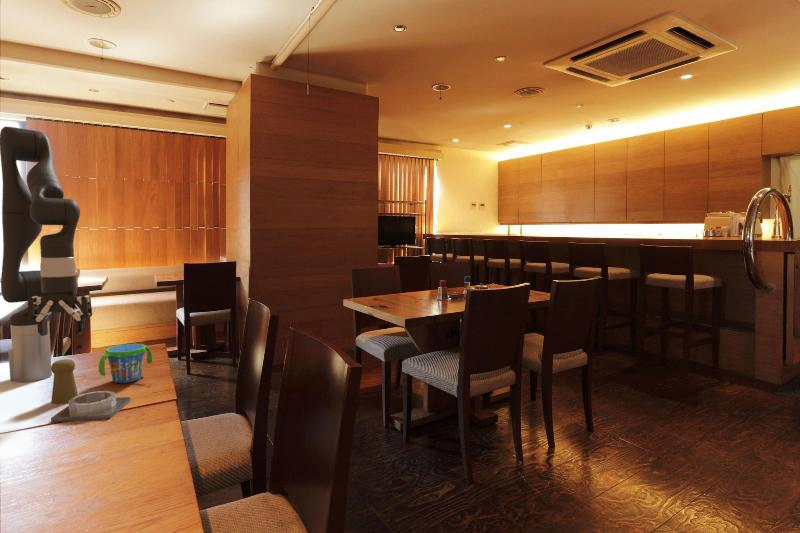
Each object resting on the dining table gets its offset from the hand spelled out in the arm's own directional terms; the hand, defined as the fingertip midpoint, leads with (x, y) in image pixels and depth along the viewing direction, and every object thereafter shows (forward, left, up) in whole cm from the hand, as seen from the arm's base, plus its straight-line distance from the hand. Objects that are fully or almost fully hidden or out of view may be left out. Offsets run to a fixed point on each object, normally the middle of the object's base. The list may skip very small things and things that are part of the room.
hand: (61, 334), depth 122 cm
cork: (0, 0, -18) cm, 18 cm away
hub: (+11, -9, -18) cm, 23 cm away
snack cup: (+9, +16, -18) cm, 26 cm away
